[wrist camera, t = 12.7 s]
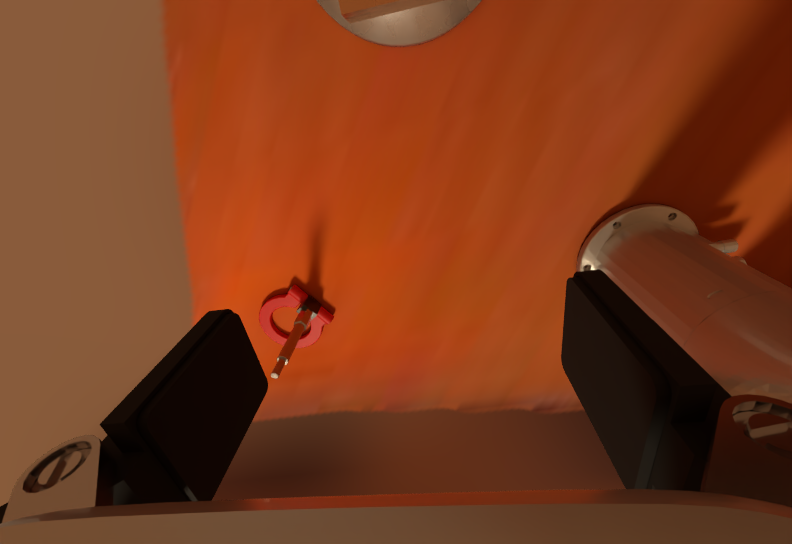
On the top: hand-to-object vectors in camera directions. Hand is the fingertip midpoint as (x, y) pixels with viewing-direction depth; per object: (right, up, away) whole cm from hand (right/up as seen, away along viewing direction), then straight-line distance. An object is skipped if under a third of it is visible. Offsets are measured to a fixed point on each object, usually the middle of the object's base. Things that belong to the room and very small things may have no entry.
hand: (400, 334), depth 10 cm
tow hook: (-14, -4, +37) cm, 39 cm away
